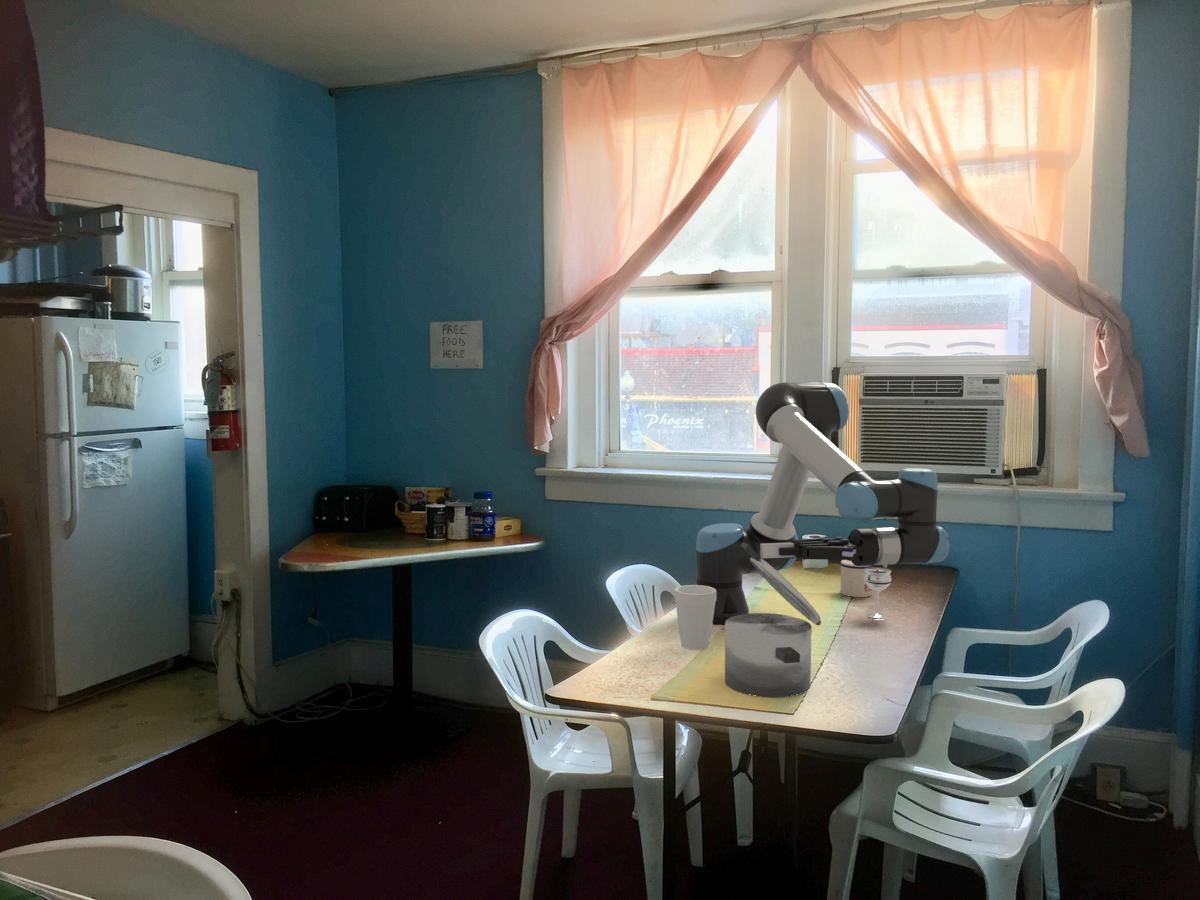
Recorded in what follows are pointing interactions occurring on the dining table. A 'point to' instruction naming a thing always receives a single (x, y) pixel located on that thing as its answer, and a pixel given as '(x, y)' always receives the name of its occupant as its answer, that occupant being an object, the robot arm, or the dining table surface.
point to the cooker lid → (782, 586)
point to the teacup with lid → (854, 580)
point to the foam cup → (695, 615)
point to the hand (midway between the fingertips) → (761, 550)
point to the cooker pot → (767, 654)
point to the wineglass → (877, 583)
